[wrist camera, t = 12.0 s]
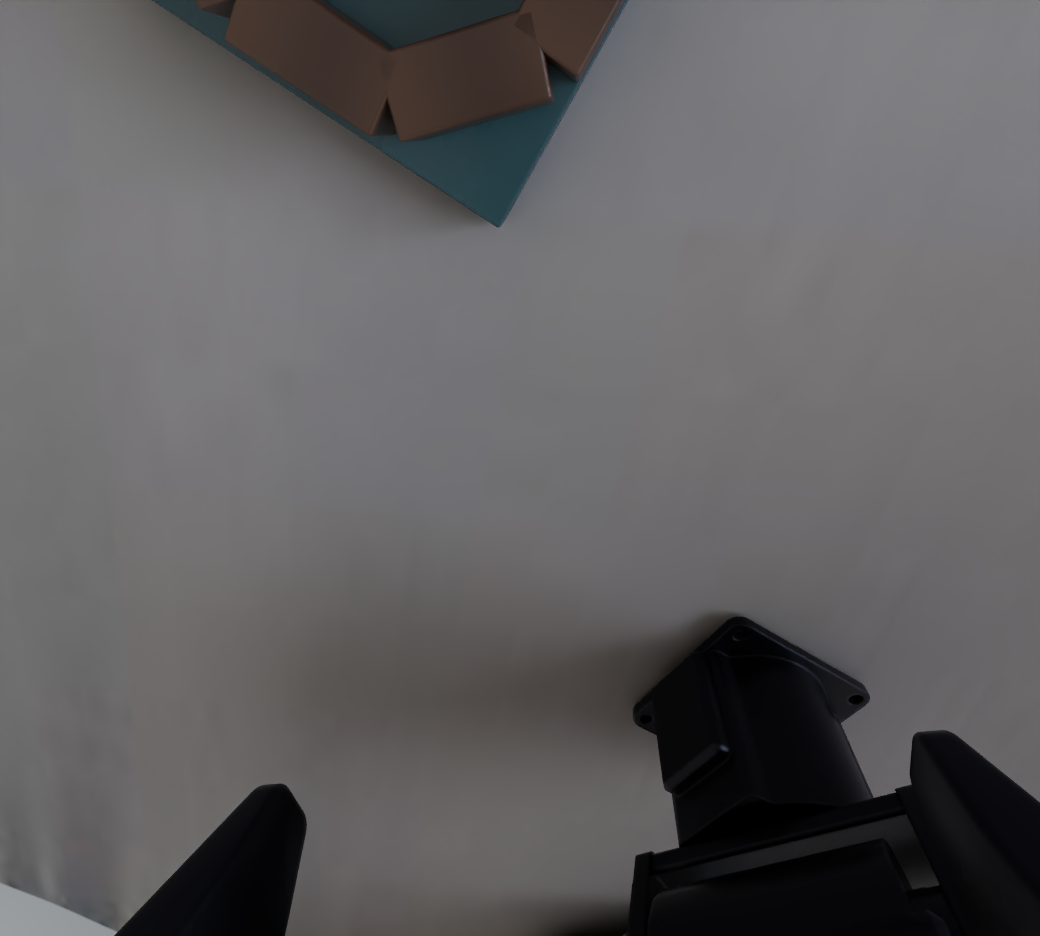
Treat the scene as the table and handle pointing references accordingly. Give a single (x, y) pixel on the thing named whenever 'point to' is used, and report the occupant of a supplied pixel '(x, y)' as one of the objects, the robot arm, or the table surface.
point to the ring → (419, 61)
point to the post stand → (453, 156)
